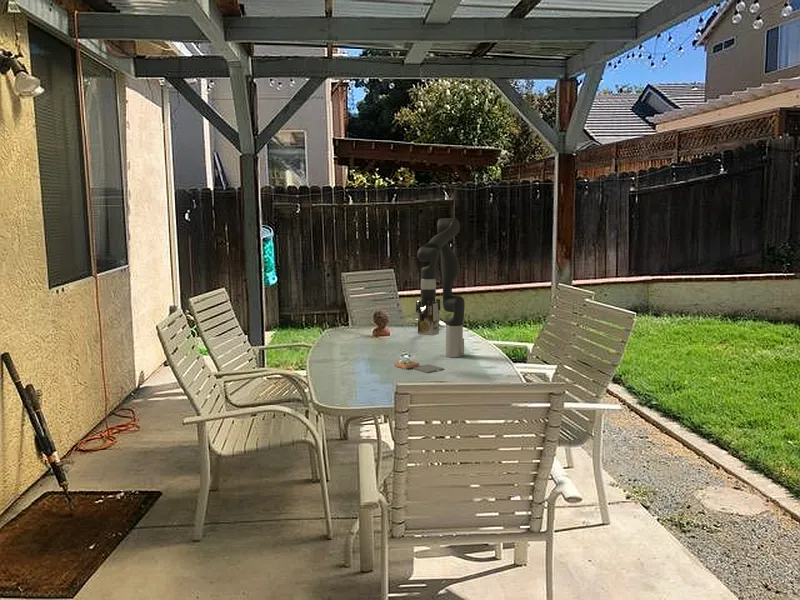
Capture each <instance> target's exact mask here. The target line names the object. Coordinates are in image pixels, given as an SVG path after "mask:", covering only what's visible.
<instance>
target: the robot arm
mask: <svg viewBox="0 0 800 600" xmlns="http://www.w3.org/2000/svg"><path fill="white" fill-rule="evenodd" d="M436 225H437V226H436V227H437V228H436V229H437V230H436V231H437V234H436V235H434V236H433V237H432V238H430V240H429V241H428V242H427V243H425V244H424V245H422V246H420V248H418V250H417V254H416V256H417V259H418V261H420V262H423V263H429V265H428V266H423V267H422V268H421V270H420V298H421V300H416V302H415V313H416V314H418V313H419V320H420V321H424V314H423V313H424V311H425V310H426V306H425V303H433V302H439V311H441V298H436V296H437V283H436V282H437V281H436V269H437V265H438V262H439V257H440V266H441V277H442V308H443V310H444V312H447V313H453V316H452V317H450V318H447V319H446V320H445V356H446V357H449V358H461V357H463V356H464V355H465V338H464V327H463V326H464V320H465V304H466V303H465V299H464V297H463V296H461V295H453V286H454V283H455V281H456V279H457V277H458V274H459V270H460V268H459V259H458V256H457V255H456V253H455V252H454V250H453V249H452V248H451V246H450V245H449V244H450V243H449V241H451V240H452V239H453V238H454V237H455V236H457V235H458V234H459V232H460V228H461V227H460V222H459V219H457V218H456V217H455V218H454V217H449V218H446V217H444V218H439V219H438V220H437V224H436ZM439 252H440V253H439ZM422 303H423V305H424V306H425V307H424V308H423V307H422V308H421V305H422ZM422 309H423V310H422Z"/></svg>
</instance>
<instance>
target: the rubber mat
mask: <svg viewBox="0 0 800 600" xmlns="http://www.w3.org/2000/svg"><path fill="white" fill-rule="evenodd" d="M412 368H413V370H415V369H416V371H419V370H420V372H422V371H423V372H422V373H426V374H428V373H429V372H430V373H434V372H433V371H435V372H438V371H437V370H440V371H444V370H445V368H443V367H441V366H440V367H439V366H436V365H433V364H429V363H428V364H423V365H419V366H417V367H412ZM412 368H411V369H412ZM443 369H444V370H443ZM430 373H429V374H430Z"/></svg>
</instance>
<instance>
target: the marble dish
mask: <svg viewBox="0 0 800 600" xmlns="http://www.w3.org/2000/svg"><path fill="white" fill-rule="evenodd" d="M403 360H404V361H405V359H403ZM399 361H400V360H398V361H394V363H393V365H394V367H395V366H397V367H396V368H398V367H400V368H399V369H402V368H404V369H403V370H405V369H406V370H409V369H408V368H411V369H412V367H417V366H420V363H419V361H415V360H414V361H413V360H411V359H410V361H411V362H412V364H407V365H406V364H401V363H399Z"/></svg>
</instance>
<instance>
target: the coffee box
mask: <svg viewBox="0 0 800 600" xmlns="http://www.w3.org/2000/svg"><path fill="white" fill-rule="evenodd" d="M425 306H426V310H425V311H424V313H423V314H424V321H420V320H419V313H417V335H420V336H433V337H434V336H437V335H439V334H440V329H439V328H440V327H439V325H440V319H439V315H440V314H439V311H440V310H439V302H433V303H425ZM425 306H424V305H423V303H422V305H421V308H422V307H423V308H424V307H425ZM422 310H423V309H422Z"/></svg>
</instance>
